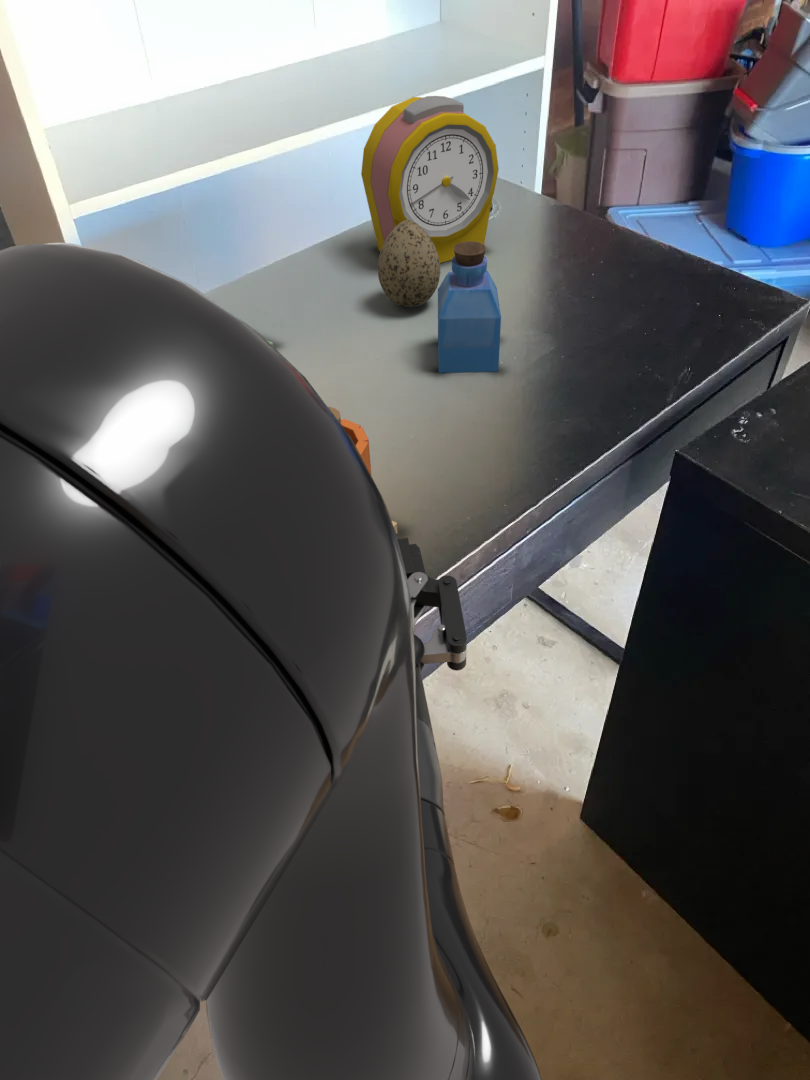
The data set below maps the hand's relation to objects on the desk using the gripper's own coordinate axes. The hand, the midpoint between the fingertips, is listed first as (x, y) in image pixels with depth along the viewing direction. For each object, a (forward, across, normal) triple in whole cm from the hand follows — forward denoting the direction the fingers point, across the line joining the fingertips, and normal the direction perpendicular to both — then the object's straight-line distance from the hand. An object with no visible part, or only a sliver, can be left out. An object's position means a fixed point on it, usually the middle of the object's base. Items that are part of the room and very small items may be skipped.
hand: (342, 554), depth 58 cm
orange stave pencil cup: (+8, 0, +5) cm, 10 cm away
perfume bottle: (+35, -16, +7) cm, 39 cm away
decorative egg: (+47, -12, +7) cm, 49 cm away
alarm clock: (+61, -17, +7) cm, 63 cm away
